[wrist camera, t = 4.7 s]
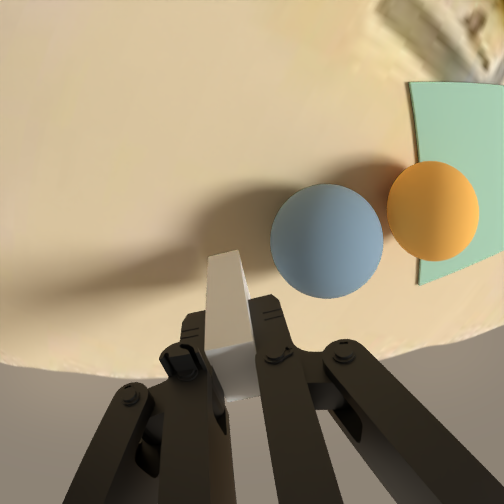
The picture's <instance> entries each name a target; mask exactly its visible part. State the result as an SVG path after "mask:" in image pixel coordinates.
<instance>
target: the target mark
mask: <svg viewBox="0 0 504 504" xmlns="http://www.w3.org/2000/svg"><path fill="white" fill-rule="evenodd" d="M408 83H409V89H410V94H411V101H412V107H413V114H414V122H415V130H416V139H417V149H418V162H424V161H438V162H442V163H446V164H448V165H450V166H453V167H454V168H456V169H457V170H459V171H460V172H461V173H462V174H463V175H464V176H465V177H466V178H467V179H468V181H469V182H470V184H471V185H472V187H473V189H474V191H475V194H476V196H477V200H478V205H479V221H478V226H477V230H476V233H475V235H474V237H473V239H472V241H471V242H470V243H469V245H468V246H467V247H466V248H465V249H464V250H463V251H462V252H461V253H459V254H458V255H456V256H454V257H452V258H450V259H447V260H443V261H426V260H422V259H420V264H419V279H418V285H419V286H420V285H423V284H426V283H428V282H431V281H433V280H436V279H438V278H441V277H443V276H446V275H448V274H451V273H453V272H456V271H458V270H461V269H463V268H465V267H468V266H470V265H472V264H475V263H477V262H479V261H482V260H484V259H486V258H488V257H491V256H493V255H495V254H497V253H499V252H502V251H504V86H502V85H492V84H479V83H461V82H408Z"/></svg>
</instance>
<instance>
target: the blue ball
mask: <svg viewBox="0 0 504 504" xmlns="http://www.w3.org/2000/svg"><path fill="white" fill-rule="evenodd" d="M270 247H271V253H272V257H273V260H274V263H275V265H276V267H277V269H278V271H279V272H280V274H281V275H282V277H283V278H284V279H285V280H286V281H287V282H288V283H289V284H290V285H291V286H292V287H293V288H295V289H296V290H298V291H300V292H301V293H304V294H306V295H309V296H312V297H316V298H323V299H331V298H338V297H342V296H345V295H348V294H350V293H352V292H354V291H356V290H358V289H359V288H360V287H361V286H363V285H364V284H365V283H366V282H367V281H368V280H369V279H370V278H371V276H372V275H373V274H374V272H375V270H376V269H377V266H378V264H379V262H380V259H381V255H382V251H383V232H382V227H381V224H380V221H379V219H378V217H377V215H376V213H375V211H374V209H373V208H372V206H371V205H370V204H369V203H368V202H367V201H366V200H365V199H364V198H363V197H362V196H361V195H359V194H358V193H356V192H355V191H353V190H351V189H349V188H346V187H343V186H339V185H334V184H319V185H313V186H310V187H307V188H304V189H302V190H300V191H298V192H297V193H295V194H294V195H293V196H291V197H290V198H289V199H288V200H287V201H286V202H285V203H284V204H283V205H282V207H281V208H280V210H279V211H278V213H277V215H276V217H275V219H274V222H273V225H272V229H271V235H270Z"/></svg>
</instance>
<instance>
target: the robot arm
mask: <svg viewBox="0 0 504 504" xmlns="http://www.w3.org/2000/svg"><path fill="white" fill-rule="evenodd" d="M180 339H181V340H180V342H178V343H174V344H172V345H170V346H169V347H167V348H166V349H165V350H164V351H163V352H162V353H161V355H160V357H159V360H160V362H161V364H162V366H163V367H164V369H165V371H166V373H167V374H168V376H169V377H168V379H167V380H166V381H164V382H162V383H160V384H158V385H156V386H153V387H151V388H148V389H147V387H146V386H145V385H143V384H141V383H138V382H135V383H129V384H126V385H124V386H123V387H121V388H120V389H119V390H118V391H117V392H116V394H115V396H114V397H113V399H112V401H111V403H110V405H109V407H108V409H107V411H106V413H105V415H104V417H103V418H102V420H101V423H100V425H99V426H98V429H97V430H96V433H95V434H94V437H93V439H92V441H91V443H90V445H89V447H88V449H87V451H86V453H85V455H84V457H83V459H82V462H81V464H80V466H79V468H78V470H77V472H76V474H75V477H74V479H73V481H72V483H71V485H70V487H69V490H68V492H67V494H66V496H65V499H64V501H63V503H62V504H237V503H236V492H235V482H234V472H233V461H232V449H231V437H230V425H229V414H228V411H227V408H226V406H225V401H224V396H225V398H226V400H227V402H232V401H237V400H243V399H248V398H253V397H257V396H261V402H262V408H263V413H264V419H265V426H266V432H267V438H268V444H269V450H270V455H271V462H272V467H273V473H274V479H275V485H276V490H277V496H278V501H279V504H343V500H342V497H341V493H340V490H339V487H338V484H337V480H336V477H335V473H334V470H333V467H332V464H331V460H330V457H329V454H328V450H327V447H326V444H325V440H324V437H323V434H322V431H321V427H320V424H319V421H318V418H317V414H316V411H315V410H328V412H329V413H330V414H331V416H332V417H333V419H334V420H335V421H336V423H337V424H338V425H339V427H340V428H341V430H342V431H343V432H344V434H345V435H346V436H347V438H348V439H349V440H350V442H351V443H352V444H353V446H354V447H355V449H356V450H357V451H358V453H359V454H360V455H361V456H362V458H363V459H364V461H365V462H366V463H367V464H368V466H369V467H370V469H371V470H372V471H373V473H374V474H375V475H376V477H377V478H378V479H379V480H380V482H381V483H382V484H383V486H384V487H385V488H386V490H387V491H388V492H389V493H390V495H391V496H392V497H393V499H394V500H395V501H396V503H397V504H504V487H503V486H502V485H501V484H500V482H498V480H497V479H496V478H495V477H494V476H493V475H492V474H491V473H490V472H489V471H488V470H487V469H486V468H485V467H484V466H483V465H482V464H481V463H480V462H479V461H478V460H477V459H476V458H475V457H474V456H473V455H472V454H471V453H470V452H469V451H468V450H467V449H466V448H465V447H464V446H463V445H462V444H461V443H460V442H459V441H458V440H457V439H456V438H455V437H454V436H453V435H452V434H451V433H450V432H449V431H448V430H447V429H446V428H445V427H444V426H443V425H442V424H441V423H440V422H439V421H438V420H437V419H436V418H435V417H434V416H433V415H432V414H431V413H430V412H429V411H428V410H427V409H426V408H425V407H424V406H423V405H422V404H421V403H420V402H419V401H418V400H417V399H416V398H415V397H414V396H413V395H412V394H411V393H410V392H409V391H408V390H407V389H406V388H405V387H404V386H403V385H402V384H401V383H400V382H399V381H398V380H397V379H396V378H395V377H394V376H393V375H392V374H391V373H390V372H389V371H388V370H387V369H386V368H385V367H384V366H383V365H382V364H381V363H380V362H379V361H378V360H377V359H376V358H375V357H374V356H373V355H372V354H371V353H370V352H369V351H368V350H367V349H366V348H365V347H364V346H363V345H362V344H360V343H358V342H357V341H354V340H350V339H340V340H337V341H334V342H332V343H330V344H329V345H328V346H326V348H325V349H324V351H323V352H308V351H304V350H301V349H299V348H297V347H296V346H295V345H294V344H293V342H292V340H291V337H290V333H289V330H288V327H287V324H286V321H285V318H284V314H283V311H282V308H281V305H280V302H279V300H278V299H277V298H276V297H274V296H273V295H272V294H270V295H266V296H262V297H258V298H253V299H251V298H250V293H249V290H248V286H247V282H246V278H245V274H244V270H243V266H242V262H241V258H240V255H239V251H238V250H234V251H230V252H226V253H222V254H217V255H213V256H209V257H208V266H207V288H206V310H204V311H199V312H194V313H190V314H188V315H187V316H186V318H185V319H184V321H183V322H182V328H181V336H180Z"/></svg>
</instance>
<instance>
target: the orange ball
mask: <svg viewBox="0 0 504 504" xmlns="http://www.w3.org/2000/svg"><path fill="white" fill-rule="evenodd" d="M387 218H388V223H389V227H390V229H391V232H392V234H393V236H394V237H395V239H396V240H397V242H398V243H399V244H400V246H401V247H402V248H403V249H404V250H406V251H407V252H408V253H410V254H411V255H413V256H415V257H417V258H419V259H422V260H426V261H443V260H447V259H450V258H452V257H454V256H456V255H458V254H459V253H461V252H462V251H463V250H464V249H465V248H466V247H467V246H468V245H469V243H470V242H471V241H472V239H473V237H474V235H475V233H476V230H477V226H478V221H479V205H478V200H477V196H476V194H475V191H474V189H473V187H472V185H471V184H470V182H469V181H468V179H467V178H466V177H465V176H464V175H463V174H462V173H461V172H460V171H459V170H457V169H456V168H454V167H453V166H450V165H448V164H446V163H442V162H438V161H424V162H419V163H416V164H414V165H412V166H410V167H408V168H407V169H405V170H404V171H403V172H402V173H401V174H400V175H399V176H398V177H397V179H396V180H395V182H394V183H393V185H392V187H391V189H390V192H389V195H388V200H387Z"/></svg>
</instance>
